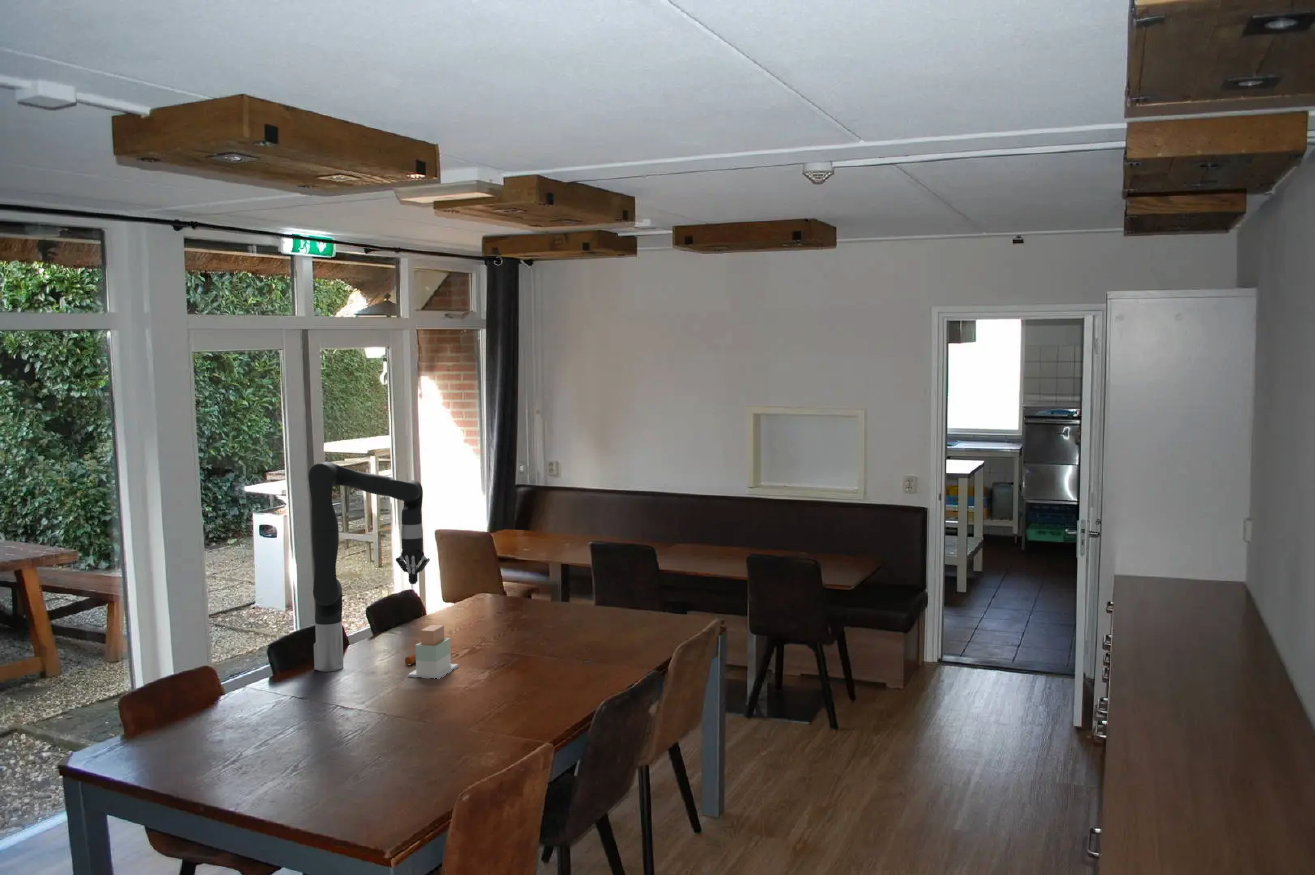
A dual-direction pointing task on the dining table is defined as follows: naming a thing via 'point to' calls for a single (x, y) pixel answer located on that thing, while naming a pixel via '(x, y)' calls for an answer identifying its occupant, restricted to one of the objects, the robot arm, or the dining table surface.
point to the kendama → (410, 659)
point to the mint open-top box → (433, 660)
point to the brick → (432, 635)
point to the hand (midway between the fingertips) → (413, 583)
